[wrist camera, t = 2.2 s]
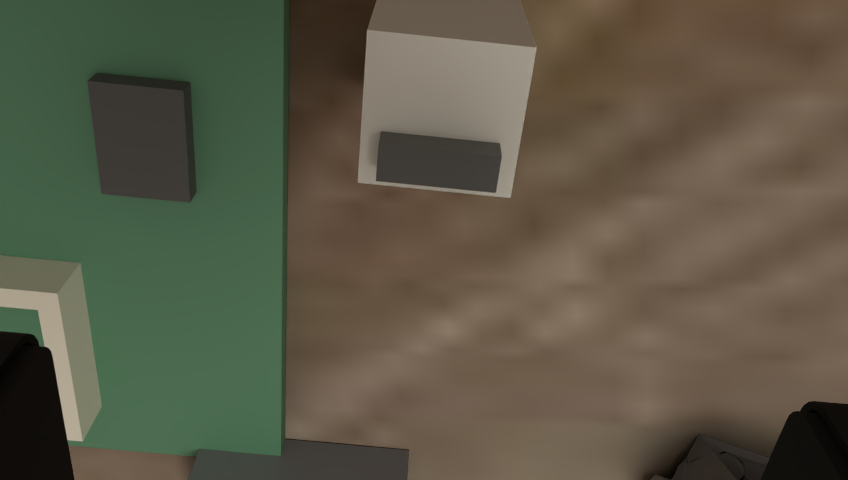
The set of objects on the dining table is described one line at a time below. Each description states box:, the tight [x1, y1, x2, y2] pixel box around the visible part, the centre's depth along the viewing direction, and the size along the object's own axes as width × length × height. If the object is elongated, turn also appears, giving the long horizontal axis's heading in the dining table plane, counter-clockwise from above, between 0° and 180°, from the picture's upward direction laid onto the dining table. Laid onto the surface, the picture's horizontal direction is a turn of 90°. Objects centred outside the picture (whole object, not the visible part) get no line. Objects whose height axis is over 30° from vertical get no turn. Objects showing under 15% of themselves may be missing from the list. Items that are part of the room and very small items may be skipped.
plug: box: [358, 0, 537, 198], centre depth 22 cm, size 4×4×8 cm
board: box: [0, 0, 290, 457], centre depth 28 cm, size 20×16×3 cm
